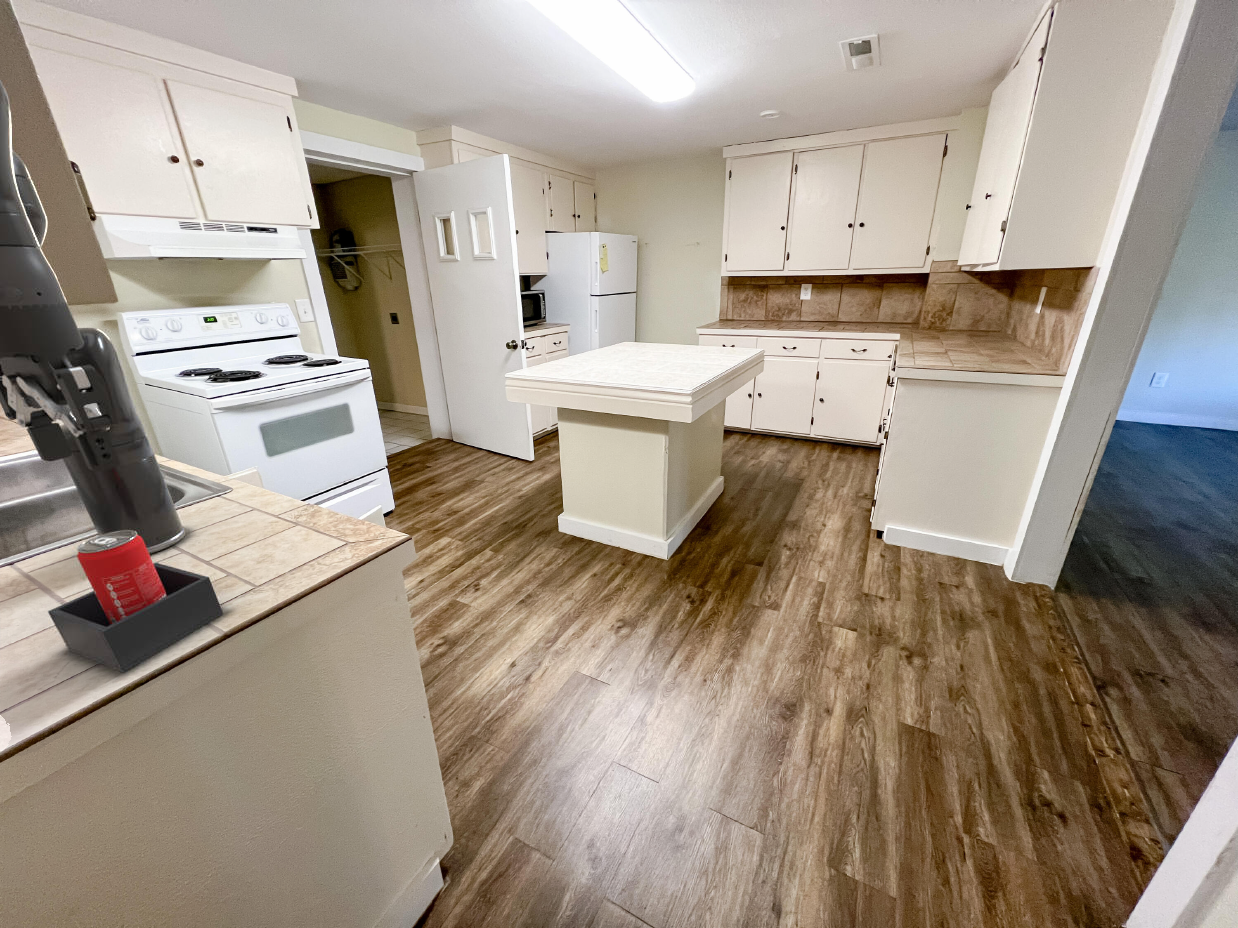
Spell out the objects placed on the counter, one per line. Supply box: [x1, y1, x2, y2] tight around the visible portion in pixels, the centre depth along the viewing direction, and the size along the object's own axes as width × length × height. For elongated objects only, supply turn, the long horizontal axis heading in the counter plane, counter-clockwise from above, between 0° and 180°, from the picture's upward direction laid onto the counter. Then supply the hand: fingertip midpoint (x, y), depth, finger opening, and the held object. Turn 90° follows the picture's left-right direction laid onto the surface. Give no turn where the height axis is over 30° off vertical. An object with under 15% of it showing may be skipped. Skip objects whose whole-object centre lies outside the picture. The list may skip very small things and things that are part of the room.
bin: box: [47, 562, 224, 674], centre depth 57 cm, size 10×10×6 cm
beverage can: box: [76, 530, 167, 625], centre depth 56 cm, size 5×5×12 cm
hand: (81, 463), depth 51 cm, fingers open, 8 cm apart
